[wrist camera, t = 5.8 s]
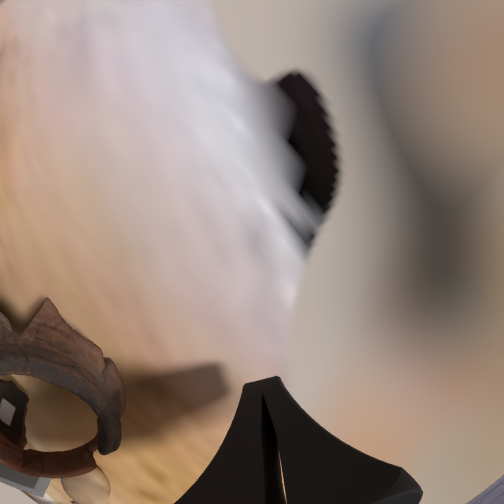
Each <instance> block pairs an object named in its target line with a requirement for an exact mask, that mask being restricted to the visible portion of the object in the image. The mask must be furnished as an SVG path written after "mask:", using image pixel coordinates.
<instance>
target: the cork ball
mask: <svg viewBox="0 0 504 504" xmlns="http://www.w3.org/2000/svg"><path fill="white" fill-rule="evenodd" d="M61 483H62V486H63V488H64V490H65V492H66V493H67V495H68V496H69V497H70V498H71V499H72V500H74V501H75V502H77V503H79V504H103V503H105V502H106V501H107V500H108V498H109V496H110V491H111V488H110V483H109V481H108V478H107V477H106V475H105V474H104V473H103V472H102V471H101V470H100V469H99V468H98V467H97V468H96V469H94V470H93V471H91V472H89V473H86V474H83V475H79V476H75V477H65V478H61Z"/></svg>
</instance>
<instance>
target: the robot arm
mask: <svg viewBox="0 0 504 504" xmlns="http://www.w3.org/2000/svg"><path fill="white" fill-rule="evenodd" d="M279 453H280V457H279ZM280 459H281V465H282V472H283V478H284V485H285V492H286V499H285V495H284V490H283V484H282V476H281V467H280ZM422 495H423V491H422V489H421V487H420V486H419V484H418V483H417V482H416V481H415V480H414V479H413V478H412V477H411V476H410V475H409V474H408V473H407V472H406V471H405V470H404V469H403V468H401V467H398V466H395V465H392V464H389V463H386V462H383V461H381V460H378V459H376V458H374V457H371V456H369V455H367V454H365V453H363V452H361V451H359V450H357V449H355V448H353V447H351V446H350V445H348V444H346V443H344V442H343V441H341V440H340V439H338V438H336V437H335V436H334V435H332V434H331V433H329V432H328V431H327V430H325V429H324V428H323V427H321V426H320V425H319V424H318V423H317V422H315V420H314V419H312V418H311V417H310V416H309V415H308V414H307V413H306V412H305V411H304V410H303V409H302V408H301V407H300V405H299V404H298V403H297V402H296V401H295V400H294V399H293V397H292V396H291V395H290V393H289V392H288V391H287V389H286V388H285V386H284V385H283V383H282V381H281V378H280V377H278V376H274V377H271V378H267V379H263V380H259V381H255V382H250V383H246V384H245V385H244V386H243V390H242V394H241V398H240V401H239V405H238V408H237V411H236V413H235V416H234V419H233V421H232V424H231V426H230V428H229V430H228V432H227V434H226V437H225V439H224V441H223V443H222V444H221V446H220V448H219V450H218V452H217V453H216V455H215V456H214V458H213V460H212V461H211V462H210V464H209V465H208V467H207V468H206V469H205V471H204V472H203V473H202V475H201V476H200V477H199V478H198V480H197V481H196V482H195V483H194V484H193V485H192V486H191V487H190V488H189V489H188V490H187V492H186V493H185V494H184V495H183V496H182V497H181V498H180V499H179V500H177V501H176V502H175V503H174V504H286V500H287V504H419V502H420V500H421V498H422ZM73 504H77V503H73ZM466 504H504V475H503V476H502V477H501V478H499V479H498V480H497V481H496V482H495V483H494V484H492V485H491V486H489V487H488V488H487V489H486V490H484V491H483V492H482V493H481V494H479V495H478V496H476V497H475V498H473V499H472V500H471V501H469V502H468V503H466Z"/></svg>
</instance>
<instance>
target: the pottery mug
mask: <svg viewBox="0 0 504 504" xmlns="http://www.w3.org/2000/svg"><path fill="white" fill-rule="evenodd" d="M10 374H16V375H27V376H32V377H35V378H40V379H43V380H45V381H48V382H51V383H53V384H56V385H59V386H61V387H63V388H65V389H67V390H69V391H71V392H73V393H75V394H76V395H78V396H79V397H80V398H82V399H83V400H84V401H85V402H86V403H88V405H89V406H90V407H91V408H92V409H93V411H94V412H95V413H96V415H97V416H98V419H97V424H98V432H97V435H96V436H95V438H94V439H92V440H91V441H89V442H88V443H86V444H84V445H82V446H80V447H77V448H75V449H71V450H68V451H63V452H41V451H36V450H32V449H28V450H24V447H25V445H26V444H27V439H26V436H25V434H26V427H25V416H26V412H27V403H28V401H29V398H28V396H27V395H26V394H25V393H24V392H23V391H21V390H20V389H19V388H18V387H17V386H16V385H15V383H14V382H12V381H5V380H1V379H0V463H1V464H3V465H5V466H7V467H9V468H11V469H13V470H15V471H18V472H21V473H24V474H27V475H30V476H36V477H44V478H65V477H75V476H79V475H83V474H86V473H89V472H91V471H93V470H94V469H96V468H97V465H96V462H95V459H94V457H93V452H94V451H96V450H97V449H98V451H99V453H100V454H101V455H107V454H109V453H111V452H114V451H116V450H117V449H118V448H119V446H120V442H121V436H122V434H121V421H120V419H121V416H122V413H123V412H124V409H125V403H126V402H125V401H126V398H125V390H124V385H123V382H122V379H121V377H120V375H119V373H118V370H117V368H116V365H115V364H114V362H113V361H112V360H111V359H110V358H106V357H105V358H103V352H102V350H101V348H100V347H98V346H97V345H96V344H95V343H93V342H92V341H91V340H89V339H86V338H85V337H83V336H82V335H80V334H79V333H78V332H76V331H75V330H73V329H72V328H71V327H70V326H69V325H68V324H67V323H66V322H65V321H64V319H63V318H62V317H61V316H60V314H59V312H58V310H57V308H56V307H55V305H54V304H53V303H52V302H51V300H50V299H49V298H46V299H45V300H44V303H43V305H42V307H41V308H40V309H39V311H38V312H37V313H36V315H35V316H34V317H33V319H32V320H31V322H30V323H29V324H28V326H27V327H26V328H25V329H24V331H23V332H22V333H21V334H19V335H16V334H15V333H14V331H13V328H12V326H11V323H10V321H9V319H8V318H7V317H6V316H5V315H4V314H3V313H2V312H0V375H10Z"/></svg>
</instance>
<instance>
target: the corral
mask: <svg viewBox="0 0 504 504" xmlns="http://www.w3.org/2000/svg"><path fill="white" fill-rule="evenodd" d="M51 479H52V478H44V477H36V476H30V475H27V474H24V473H21V472H18V471H15V470H13V469H11V468H9V467H7V466H5V465H3V464H1V463H0V482H2V483H5V484H7V485H10V486H12V487H15V488H17V489H20V490H22V491H25V492H28V493H31V494H34V495H37V496H40V497H43V496H44V494H45V491H46V489H47V487H48V485H49V483H50V481H51Z"/></svg>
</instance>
